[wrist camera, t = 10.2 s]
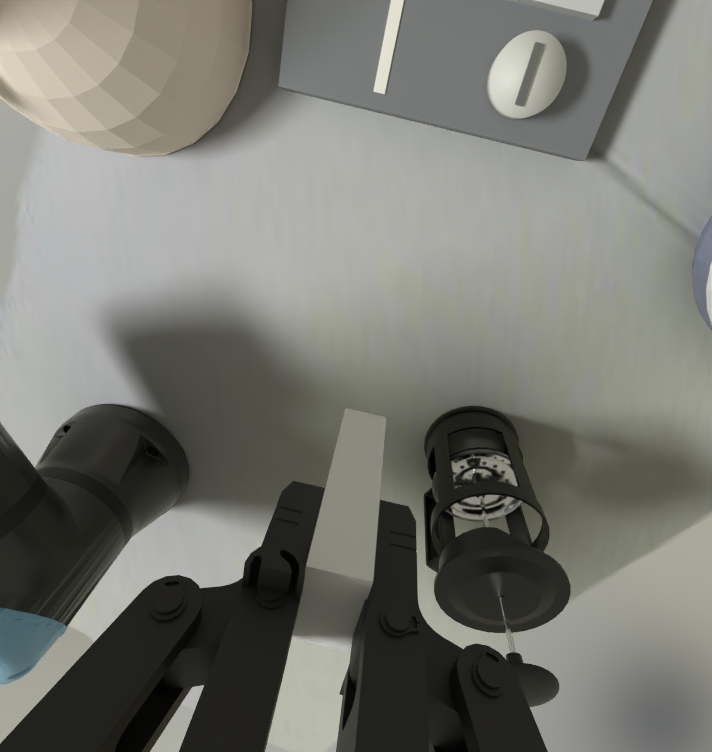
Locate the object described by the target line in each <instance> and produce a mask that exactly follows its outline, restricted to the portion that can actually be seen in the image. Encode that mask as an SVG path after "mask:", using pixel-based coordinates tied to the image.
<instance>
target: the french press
mask: <svg viewBox="0 0 712 752" xmlns="http://www.w3.org/2000/svg"><path fill="white" fill-rule="evenodd" d="M473 428H479V429H488V430H493V431H495V432H498V433H500V434H501V435H502V438H503V441H504V444H505V451H504V452H503V451H500V450H497V449H491V448H480V447H477V448H469V449H465V450H461V451H458V452H455V453H453V454H450V446H449V439H448V436H449V435H451V434H453V433H455V432H458V431H461V430H465V429H473ZM424 448H425V454H426V457H427V464H428V471H429V475H430V477H431V479H432V488H431V489H429V490H428V491H427V492H426V493H425V494H424V519H425V547H426V565H427V566H428V567H429V568H431V569H432V570H434V571H435V572H437V575H436V577H435V581H434V593H435V597H436V600H437V602H438V604H439V606H440V608H441V609H442V610H443V611H444V612H445V613H446V614H447V615H448V616H449V617H451V618H452V619H453V620H455V621H457V622H459V623H461V624H462V625H464V626H467V627H470V628H473V629H476V630H481V631H485V632H494V633H506V636H507V641H508V647H509V652H510V653H508V654H507V655H506V660H507V661H508V662H509V663H510V665H511V667H512V669H513V670H514V672H515V674H516V676H517V678H518V680H519V683H520V685H521V688H522V690H523V693H524V695H525V698H526V700H527V702H528V705H529V707H533V706H538V705H541V704H544V703H546V702H548V701H550V700H551V699H553V698H554V697H555V696H556V695H557V693H558V691H559V682H558V680H557V678H556V677H555V676H554V675H553V674H552V673H551V672H550V671H548V670H546V669H544V668H542V667H539V666H536V665H532V664H525V663H523V660H522V656H521V655H520V654H519V653H516V651H515V646H514V641H513V636H512V633H513V632H520V631H525V630H529V629H533V628H536V627H538V626H541V625H543V624H545V623H547V622H549V621H550V620H552V619H553V618H555V617H556V616H557V615H558V614H559V613H560V612H561V611H563V609H564V608H565V606H566V604H567V603H568V600H569V597H570V583H569V580H568V577H567V574H566V572H565V571H564V569H563V568H562V566H561V565H560V564H559V563H558V562H557V561H556V560H554V559H553V558H552V557H550V556H549V555H547V554H545V553H544V552H543V551H544V550H545V548H546V546H547V544H548V540H549V526H548V523H547V520H546V518H545V515H544V512H543V510H542V507H541V506H540V504H539V503H538V501H537V500H536V497H535V494H534V491H533V489H532V486H531V483H530V480H529V478H528V475H527V472H526V469H525V467H524V464H523V456H522V453H521V450H520V448H519V442H518V436H517V433H516V430H515V428H514V427H513V425H512V424H511V422H510V421H509V420H508V419H507V418H506V417H505V416H503V415H501V414H500V413H498V412H496V411H494V410H491V409H489V408H484V407H477V406H468V407H461V408H457V409H454V410H451V411H449V412H447V413H445V414H443V415H442V416H441V417H439V418H438V419H437V420H436V421H435V422H434V423H433V424H432V425H431V427H430V428H429V430H428V432H427V434H426V438H425V446H424ZM522 501H523V502H525V503H526V504H528V505H530V506H531V507H533V508H534V509H535V510H536V511H537V512H538V513H539V514H540V516H541V517H542V527H541V531H540V533H539V535H538V537H537V538H536V540H535V541H534V542H533V543H532V541H531V537H530V534H529V531H528V528H527V525H526V521H525V518H524V515H523V512H522V509H521V505H520V504H521V503H522ZM453 516H454V517H457V518H460V519H463V520H468V521H484V525H485V527H482V528H477V529H473V530H470V531H468V532H465V533H462V534H461V535H459V536H457V537H455V528H454V520H453ZM503 516H506V520H507V524H508V528H509V531H510V534H508V533H506V532H504V531H502V530H500V529H498V528H491V527H489V522H488V521H489V520H494V519H498V518H500V517H503Z"/></svg>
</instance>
